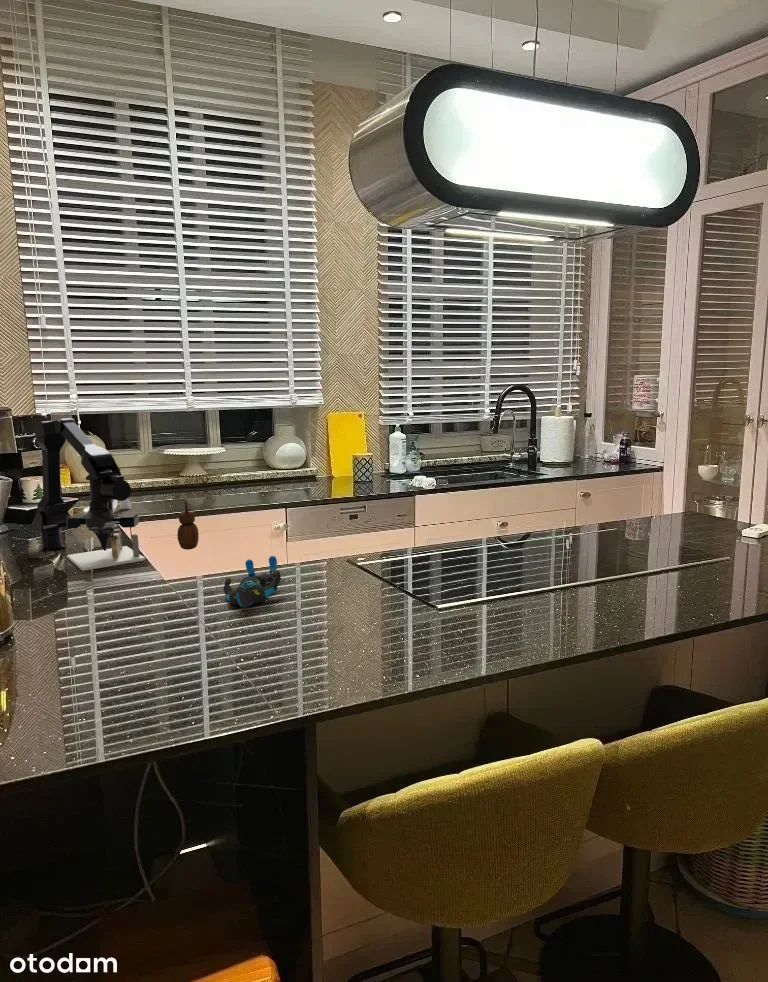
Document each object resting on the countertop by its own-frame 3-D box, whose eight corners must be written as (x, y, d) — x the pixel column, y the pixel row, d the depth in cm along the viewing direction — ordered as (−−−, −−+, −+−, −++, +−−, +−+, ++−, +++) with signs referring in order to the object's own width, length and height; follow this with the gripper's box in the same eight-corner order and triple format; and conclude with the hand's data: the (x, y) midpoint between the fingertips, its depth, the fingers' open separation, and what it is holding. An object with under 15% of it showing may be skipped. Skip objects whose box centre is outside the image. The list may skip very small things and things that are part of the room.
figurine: (286, 553, 191) (270, 581, 161) (290, 577, 192) (275, 609, 162) (234, 561, 191) (209, 590, 161) (238, 585, 192) (214, 618, 162)
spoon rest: (106, 521, 275) (104, 501, 273) (77, 520, 277) (75, 501, 276) (139, 509, 297) (138, 491, 296) (112, 509, 300) (111, 491, 299)
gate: (115, 547, 225) (113, 527, 224) (122, 546, 225) (120, 527, 224) (111, 558, 211) (109, 537, 210) (118, 557, 212) (116, 536, 211)
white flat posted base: (67, 557, 219) (64, 534, 218) (126, 548, 229) (124, 526, 227) (82, 570, 204) (79, 545, 202) (145, 560, 213) (143, 536, 212)
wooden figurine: (195, 550, 223) (191, 500, 220) (176, 551, 223) (172, 501, 220) (201, 545, 229) (198, 497, 227) (182, 546, 230) (179, 497, 227)
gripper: (57, 502, 203) (61, 558, 206) (127, 501, 205) (130, 557, 207) (71, 495, 214) (75, 548, 217) (137, 494, 216) (141, 547, 218)
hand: (105, 550), depth 215 cm, fingers closed
